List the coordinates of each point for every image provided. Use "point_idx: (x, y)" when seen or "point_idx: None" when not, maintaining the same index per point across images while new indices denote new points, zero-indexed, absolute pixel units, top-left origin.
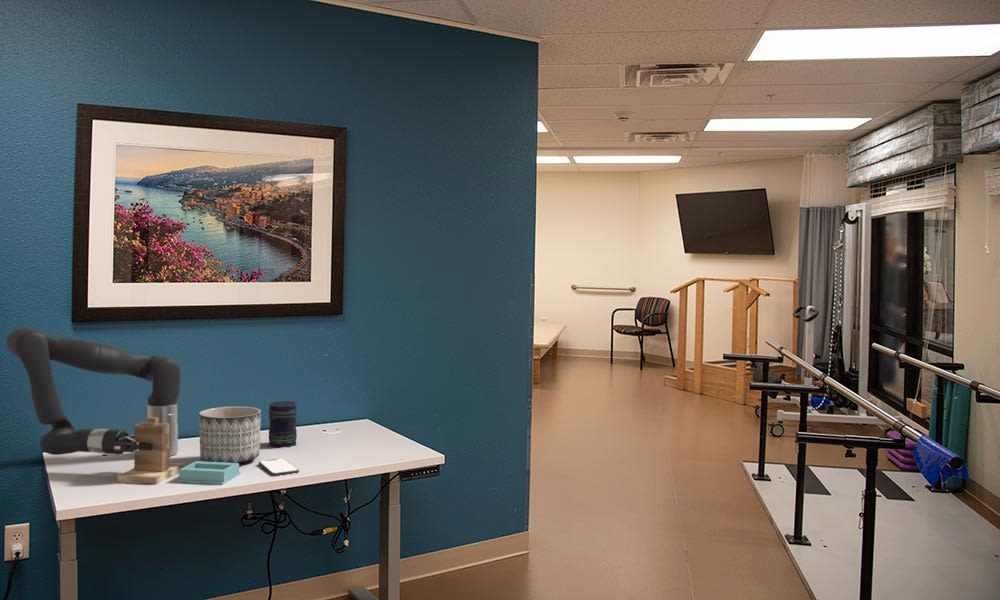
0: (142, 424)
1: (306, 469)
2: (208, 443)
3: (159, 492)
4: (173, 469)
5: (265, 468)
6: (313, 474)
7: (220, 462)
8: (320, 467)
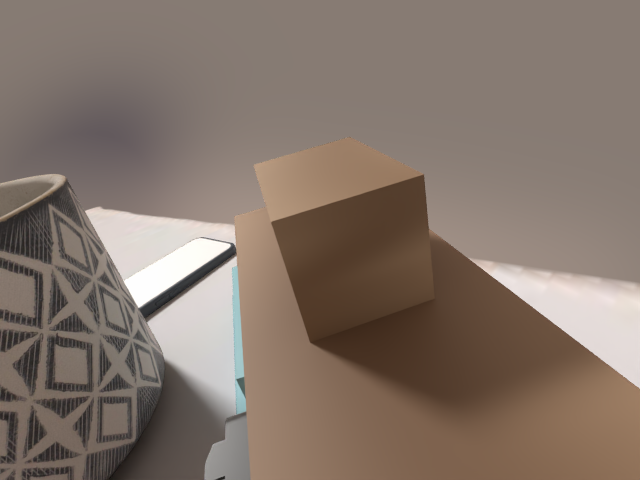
0: (475, 342)
1: (172, 248)
2: (103, 354)
3: (536, 309)
4: None
5: (190, 278)
6: (208, 226)
7: (236, 301)
8: (154, 244)
